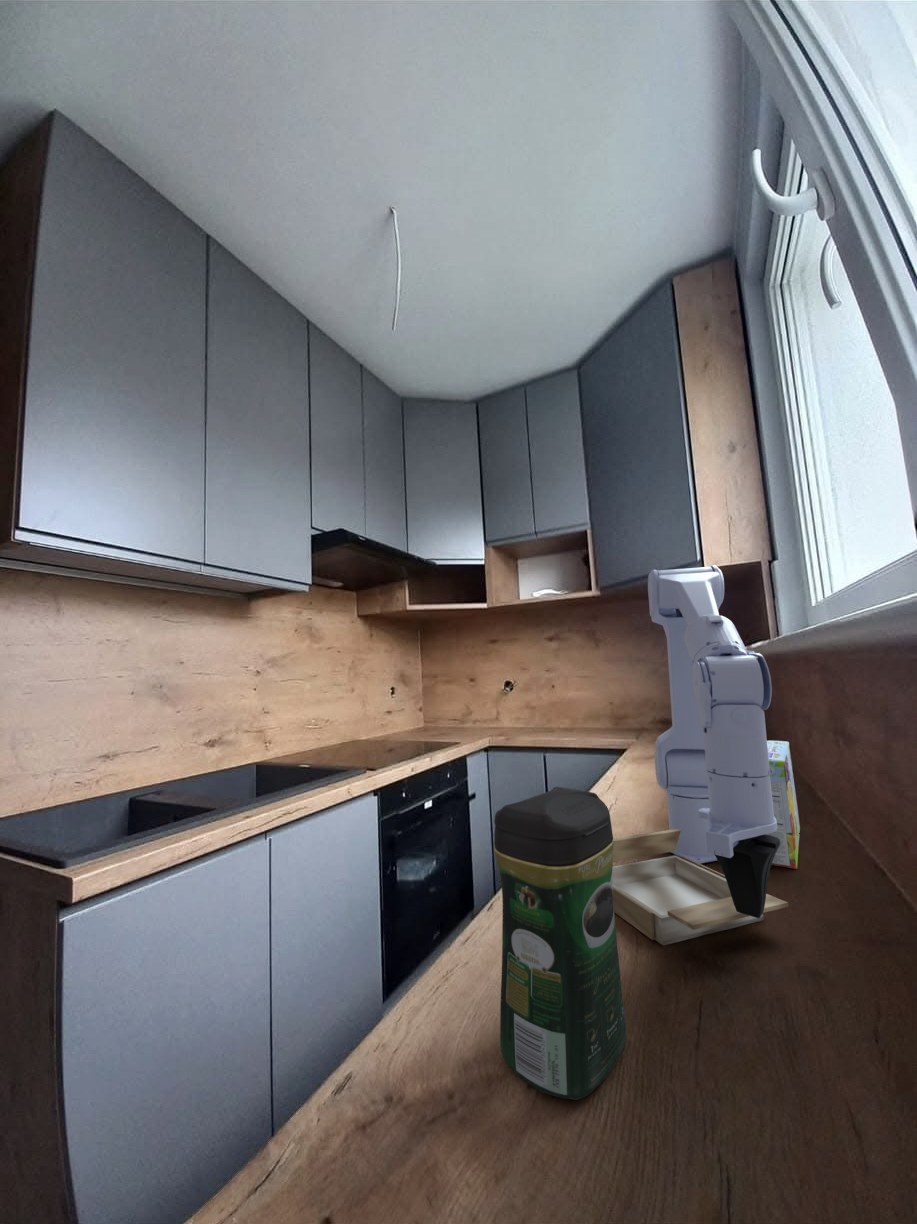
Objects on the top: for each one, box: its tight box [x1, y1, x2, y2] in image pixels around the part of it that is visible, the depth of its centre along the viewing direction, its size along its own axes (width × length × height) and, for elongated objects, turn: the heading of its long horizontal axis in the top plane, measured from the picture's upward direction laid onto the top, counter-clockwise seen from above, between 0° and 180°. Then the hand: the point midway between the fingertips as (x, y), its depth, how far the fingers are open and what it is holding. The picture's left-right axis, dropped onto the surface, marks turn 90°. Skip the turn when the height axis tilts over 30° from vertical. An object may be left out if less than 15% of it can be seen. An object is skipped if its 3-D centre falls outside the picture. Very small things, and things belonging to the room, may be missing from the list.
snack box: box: [765, 740, 801, 870], centre depth 78 cm, size 21×6×15 cm, turn 144°
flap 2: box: [667, 893, 789, 930], centre depth 51 cm, size 13×1×3 cm
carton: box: [612, 855, 764, 946], centre depth 58 cm, size 15×13×3 cm
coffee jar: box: [493, 786, 627, 1101], centre depth 37 cm, size 10×8×19 cm
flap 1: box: [613, 828, 681, 863], centre depth 64 cm, size 13×1×3 cm, turn 109°
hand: (749, 912), depth 48 cm, fingers closed
